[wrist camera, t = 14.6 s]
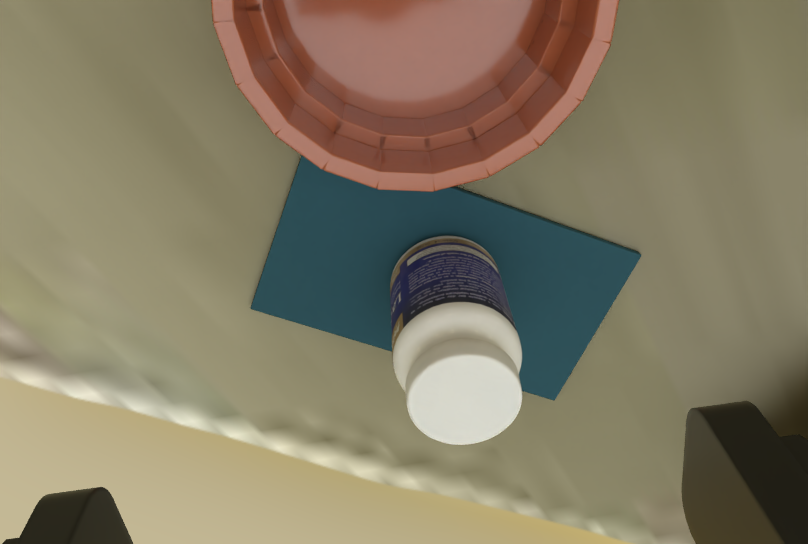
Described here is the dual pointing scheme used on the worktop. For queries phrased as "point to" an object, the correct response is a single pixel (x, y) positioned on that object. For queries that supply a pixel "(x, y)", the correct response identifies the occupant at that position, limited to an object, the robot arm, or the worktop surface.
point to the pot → (414, 80)
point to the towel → (422, 219)
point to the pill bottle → (454, 341)
